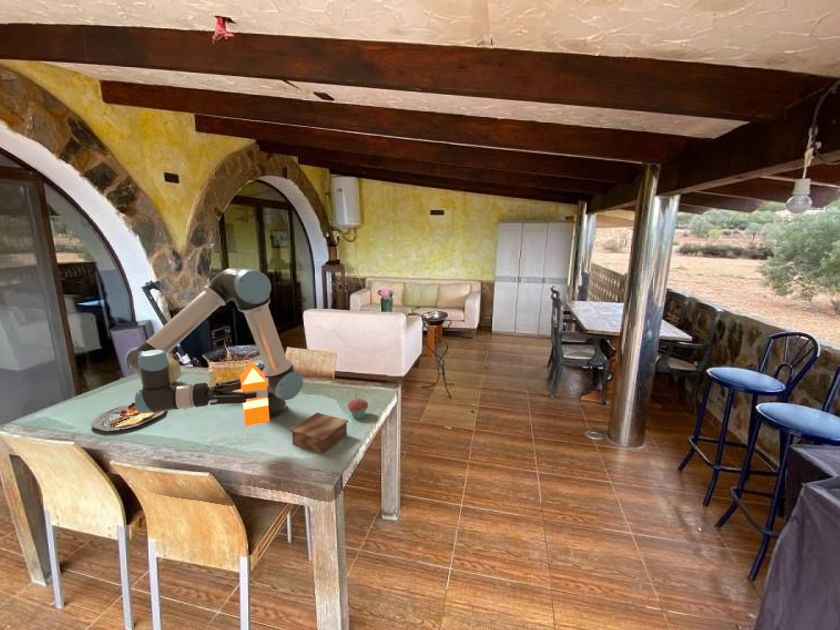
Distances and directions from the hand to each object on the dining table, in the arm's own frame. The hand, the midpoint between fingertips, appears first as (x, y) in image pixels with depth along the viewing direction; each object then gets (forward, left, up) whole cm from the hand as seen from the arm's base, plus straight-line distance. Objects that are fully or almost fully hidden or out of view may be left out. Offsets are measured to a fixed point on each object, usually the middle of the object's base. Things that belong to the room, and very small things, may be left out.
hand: (267, 386), depth 132 cm
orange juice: (-3, -3, -11) cm, 12 cm away
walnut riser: (+11, +13, -24) cm, 29 cm away
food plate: (-70, -8, -24) cm, 75 cm away
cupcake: (+12, +35, -24) cm, 44 cm away
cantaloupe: (-93, +20, -24) cm, 98 cm away
